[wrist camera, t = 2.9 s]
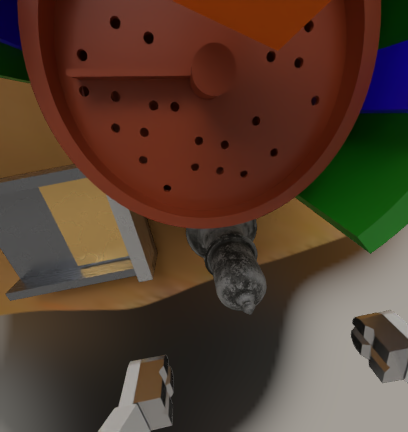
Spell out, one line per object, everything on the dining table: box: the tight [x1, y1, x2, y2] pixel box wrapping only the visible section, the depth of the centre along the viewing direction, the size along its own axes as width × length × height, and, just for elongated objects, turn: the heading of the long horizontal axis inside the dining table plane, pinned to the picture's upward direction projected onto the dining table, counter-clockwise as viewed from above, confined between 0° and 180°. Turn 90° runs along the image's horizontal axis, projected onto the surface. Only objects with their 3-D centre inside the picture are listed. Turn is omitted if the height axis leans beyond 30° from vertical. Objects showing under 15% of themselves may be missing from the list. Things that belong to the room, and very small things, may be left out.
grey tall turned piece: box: [186, 219, 267, 315], centre depth 16 cm, size 6×6×12 cm
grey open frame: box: [0, 164, 158, 301], centre depth 19 cm, size 13×10×4 cm
